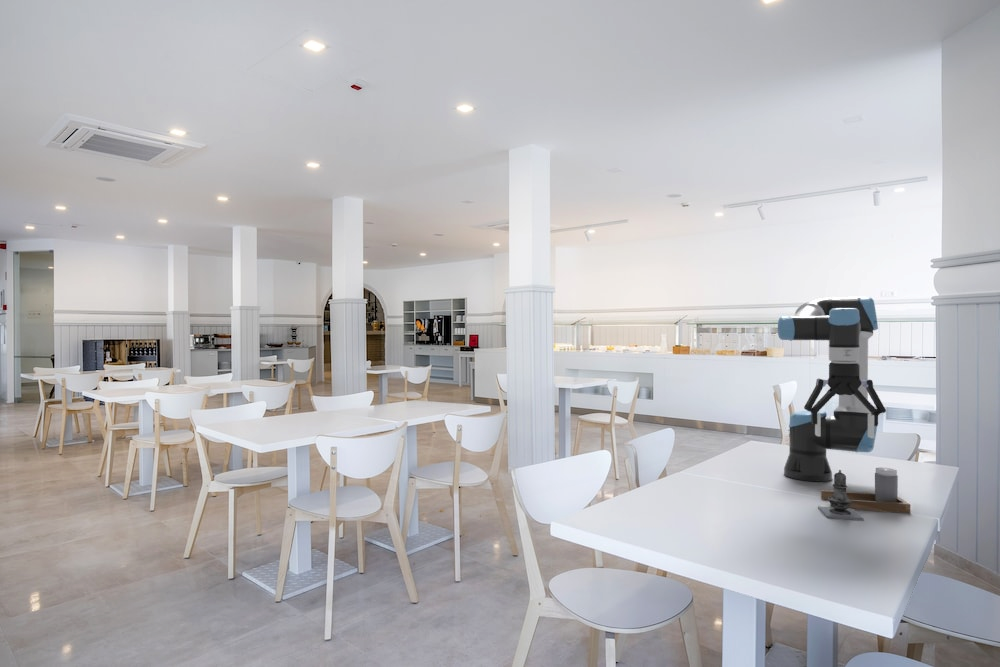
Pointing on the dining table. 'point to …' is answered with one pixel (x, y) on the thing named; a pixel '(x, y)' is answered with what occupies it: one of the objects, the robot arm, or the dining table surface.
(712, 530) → the dining table surface
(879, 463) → the dining table surface
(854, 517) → the coaster
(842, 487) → the grey chess piece
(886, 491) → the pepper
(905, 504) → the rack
